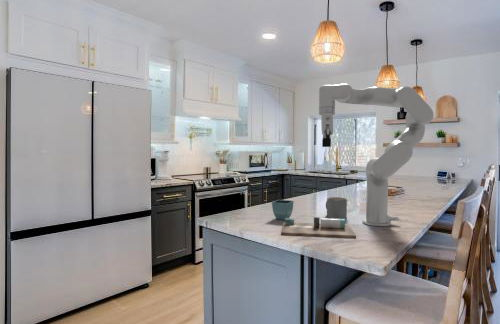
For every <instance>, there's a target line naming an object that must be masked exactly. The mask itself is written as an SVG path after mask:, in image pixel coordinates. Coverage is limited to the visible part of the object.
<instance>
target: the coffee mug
mask: <svg viewBox="0 0 500 324" xmlns="http://www.w3.org/2000/svg"><path fill="white" fill-rule="evenodd" d="M325 209H326V218H331V219H345V220H347V217H348V216H347V215H348V211H347V209H348V199H347V198H346V197H342V196H341V197H340V196H338V197H337V196H330V197H327V198H326V202H325Z"/></svg>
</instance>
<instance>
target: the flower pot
mask: <svg viewBox="0 0 500 324" xmlns="http://www.w3.org/2000/svg"><path fill="white" fill-rule="evenodd" d="M271 207H272V212H273V216H274V218H276V220H284V221H285V218H290V217H291V215H292V213H293V209H294V200H285V199H277V200H274V201H271Z"/></svg>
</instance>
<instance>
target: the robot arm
mask: <svg viewBox="0 0 500 324" xmlns="http://www.w3.org/2000/svg"><path fill="white" fill-rule="evenodd" d="M336 102H337V103H340V104H349V105H364V106H365V105H366V106H381V107H387V108H388V107H389V108H396V109H397V108H401V109H402V108H403V110H405V111H406V115H405V125H406V127H405V129H404V130H403V131H402V132H401V134H399V135H398V136H397V137H396V138H395V139H393V141H391V142H390V143H389V144H388V145H387V146H386V147H385V149H384V152H383V154H382V155H380V156H379V157H372V158H371V159H369V160H368V161H367V163H366V165H365V166H366V167H365V176H366V177H365V178H366V193H365V194H366V197H365V200H366V201H365V202H366V203H365V204H366V205H365V206H366V207H365V208H366V209H365V218H364V219H362V223H363V224H365V225H368V226H371V227H372V226H373V227H389V226H391V225H392V221H395V222H399V217H398V216H394V215H389V214H388V211H389V210H388V209H389V208H388V207H389V205H388V203H389V200H388V199H389V178H390V177H392V176H393V175H394V174H396V173H397V172H398V171H399V170H400V169H401V168H403V167H404V165H405V164H407V163H408V162H409V161H410V160H411V159H412V156H413V149H415V147H417V145H418V144H419V143H421V141H422V139H424V135H425V133H426V132H425V131H426V125H428V124H429V123H431V122H432V120H433V119H434V114H435V113H434V110H433V109H432V107H431V106H430V105H429V103H427V102H426V100H424V99H423V98H422V96H421V95H420V94H419V93H418V92H417V91H416V89H414V88H413V87H411V86H401V87H399V88H393V87H392V88H391V87H381V86H372V87H366V88H363V89H362V88H353V87H352V86H351V84H349V83H348V84H347V83H340V84H333V85H332V84H323V85H321V86H319V89H318V115H319V116H320V117H321V120H320V121H321V122H320V125H321V127H320V128H321V135H322V140H321V141H322V143H321V144H322V145H321V146H322V148H331V147H332V138H331V137H332V135H334V115H335V114H336Z"/></svg>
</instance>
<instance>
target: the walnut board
mask: <svg viewBox="0 0 500 324" xmlns="http://www.w3.org/2000/svg"><path fill="white" fill-rule="evenodd" d="M280 233H281V234H280V235H281V236H301V237H323V238H324V237H325V238H346V239H356V238H357V234H356V233H355V231H354V230H353V229H352V227H351V226H350V224H345V228H326V227H321V223H320V217H318V216H314V217H313V223H310V222H309V223H308V222H307V223H306V222H295V218H292V217H291V218H290V217H289V218H285V220H284V222H283V223H282V228H281V231H280Z"/></svg>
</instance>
